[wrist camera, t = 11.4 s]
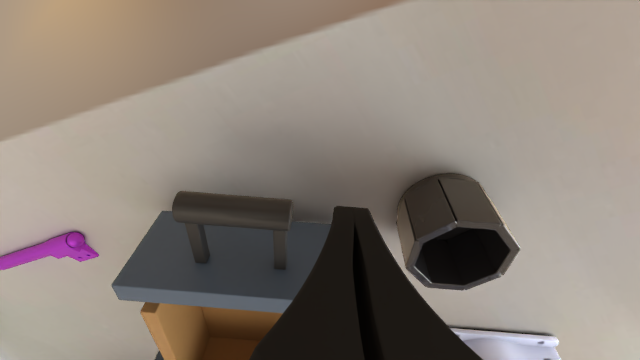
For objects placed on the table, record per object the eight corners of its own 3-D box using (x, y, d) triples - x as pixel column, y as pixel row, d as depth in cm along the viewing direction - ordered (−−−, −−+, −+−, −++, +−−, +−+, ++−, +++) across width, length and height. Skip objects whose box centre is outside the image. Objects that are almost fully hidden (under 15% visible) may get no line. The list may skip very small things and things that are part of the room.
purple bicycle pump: (75, 226, 21) (-62, 273, 25) (66, 242, 20) (-74, 287, 25) (109, 244, 23) (-24, 285, 27) (103, 259, 22) (-34, 298, 27)
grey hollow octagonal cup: (500, 177, 17) (536, 226, 14) (468, 241, 20) (491, 293, 17) (408, 169, 17) (423, 217, 14) (389, 234, 20) (398, 285, 17)
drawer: (142, 149, 16) (73, 219, 12) (359, 167, 16) (366, 243, 12) (198, 327, 26) (172, 397, 22) (330, 337, 26) (328, 410, 22)
